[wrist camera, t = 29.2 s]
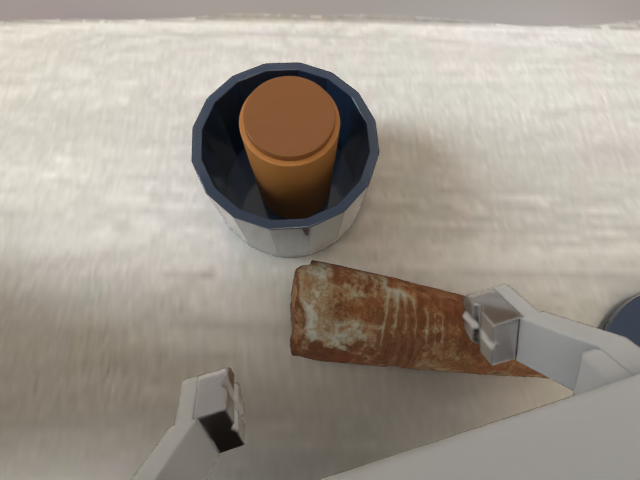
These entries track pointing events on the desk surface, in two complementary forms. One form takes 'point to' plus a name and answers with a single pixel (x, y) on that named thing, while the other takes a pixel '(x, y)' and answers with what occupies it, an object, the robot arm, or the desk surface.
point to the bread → (384, 323)
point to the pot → (238, 179)
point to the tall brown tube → (291, 144)
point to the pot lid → (626, 320)
